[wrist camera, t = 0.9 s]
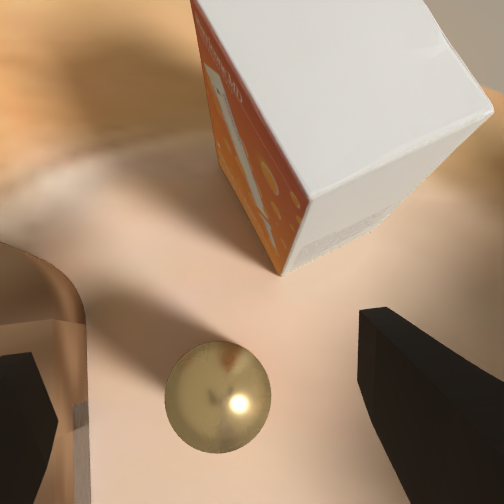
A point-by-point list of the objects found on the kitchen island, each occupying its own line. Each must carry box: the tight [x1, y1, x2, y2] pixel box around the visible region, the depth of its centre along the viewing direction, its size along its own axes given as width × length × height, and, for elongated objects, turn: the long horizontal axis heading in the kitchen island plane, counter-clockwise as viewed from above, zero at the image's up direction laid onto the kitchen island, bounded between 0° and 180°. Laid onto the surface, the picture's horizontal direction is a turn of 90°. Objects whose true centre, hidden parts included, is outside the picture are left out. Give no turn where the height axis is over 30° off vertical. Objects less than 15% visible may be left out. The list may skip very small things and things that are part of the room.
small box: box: [190, 0, 494, 277], centre depth 19 cm, size 8×6×13 cm
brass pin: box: [165, 341, 271, 453], centre depth 19 cm, size 4×4×7 cm
